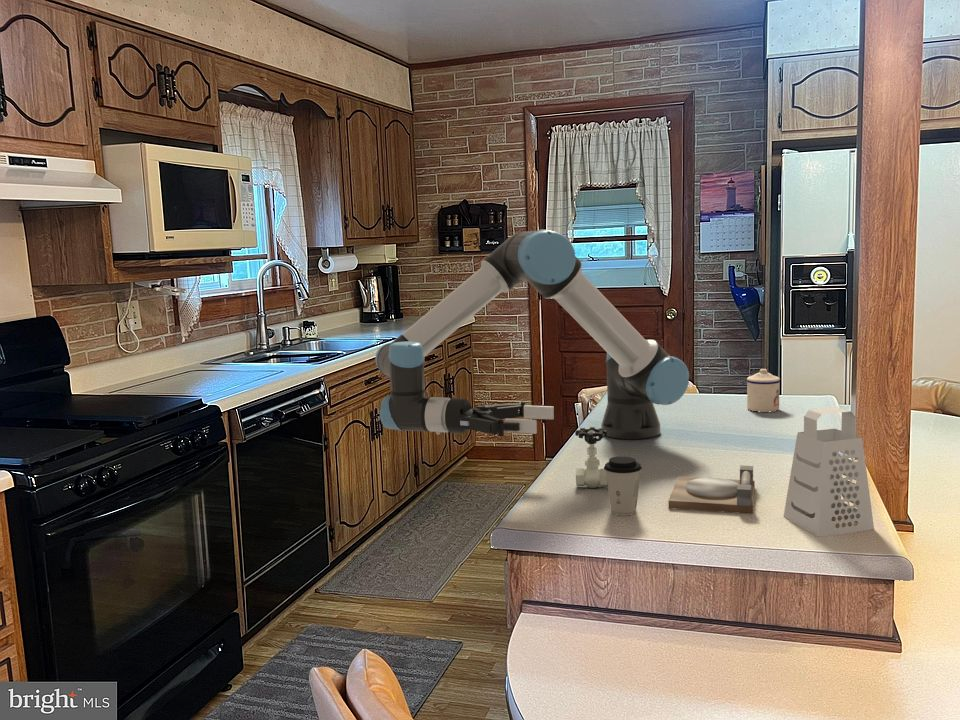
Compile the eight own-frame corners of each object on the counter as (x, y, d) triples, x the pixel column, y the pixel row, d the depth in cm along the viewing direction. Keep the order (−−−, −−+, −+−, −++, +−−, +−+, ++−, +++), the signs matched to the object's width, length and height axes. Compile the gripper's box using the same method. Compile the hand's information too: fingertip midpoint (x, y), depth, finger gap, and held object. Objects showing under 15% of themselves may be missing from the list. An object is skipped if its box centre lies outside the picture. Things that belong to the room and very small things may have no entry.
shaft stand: (677, 483, 170) (677, 462, 170) (754, 487, 165) (754, 466, 164) (668, 508, 155) (668, 485, 155) (752, 513, 150) (752, 489, 150)
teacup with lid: (781, 413, 230) (782, 371, 228) (747, 412, 232) (747, 372, 230) (777, 404, 241) (777, 365, 240) (744, 404, 244) (744, 365, 242)
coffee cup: (650, 512, 153) (649, 460, 152) (622, 520, 150) (621, 467, 148) (624, 503, 159) (623, 453, 158) (597, 511, 155) (595, 459, 154)
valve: (608, 492, 166) (606, 434, 164) (575, 492, 168) (573, 434, 166) (609, 483, 173) (608, 427, 171) (578, 482, 174) (576, 426, 172)
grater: (874, 529, 140) (877, 414, 137) (818, 536, 138) (820, 419, 135) (835, 510, 150) (837, 402, 147) (783, 516, 148) (784, 407, 145)
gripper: (470, 420, 190) (560, 424, 183) (427, 446, 167) (528, 452, 160) (469, 388, 189) (559, 391, 182) (426, 409, 166) (527, 414, 159)
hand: (545, 419), depth 171 cm, fingers open, 13 cm apart
